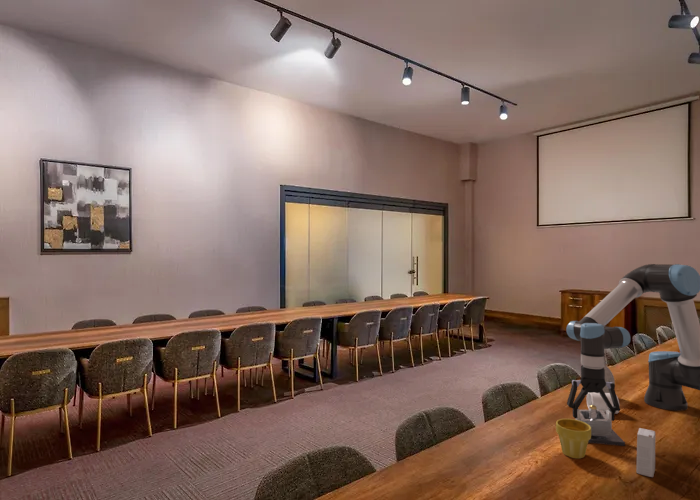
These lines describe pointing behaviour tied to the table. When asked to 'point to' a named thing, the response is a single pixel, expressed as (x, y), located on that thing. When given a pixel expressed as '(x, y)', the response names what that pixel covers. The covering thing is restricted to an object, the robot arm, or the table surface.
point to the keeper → (603, 439)
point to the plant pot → (573, 437)
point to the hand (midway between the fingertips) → (593, 428)
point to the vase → (608, 378)
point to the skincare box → (646, 452)
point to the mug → (599, 401)
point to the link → (597, 423)
